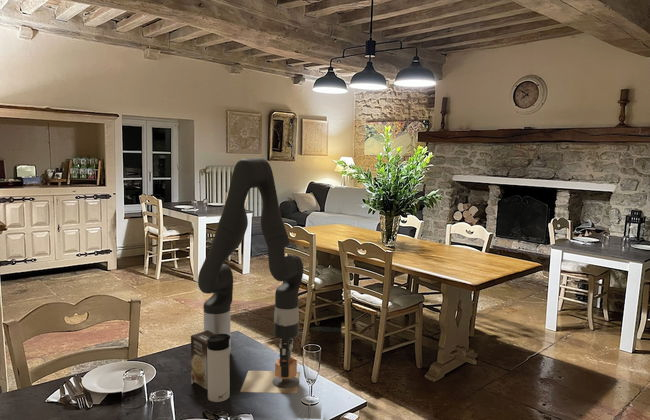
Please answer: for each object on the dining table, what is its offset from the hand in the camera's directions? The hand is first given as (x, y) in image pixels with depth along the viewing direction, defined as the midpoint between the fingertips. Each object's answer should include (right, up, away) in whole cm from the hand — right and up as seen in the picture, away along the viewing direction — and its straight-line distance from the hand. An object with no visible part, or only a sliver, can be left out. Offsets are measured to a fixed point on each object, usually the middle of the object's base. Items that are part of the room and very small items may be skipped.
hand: (285, 371), depth 149 cm
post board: (-5, -5, +1) cm, 7 cm away
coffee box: (-25, -5, 0) cm, 25 cm away
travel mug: (-19, -6, -9) cm, 22 cm away
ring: (0, -1, 0) cm, 1 cm away
